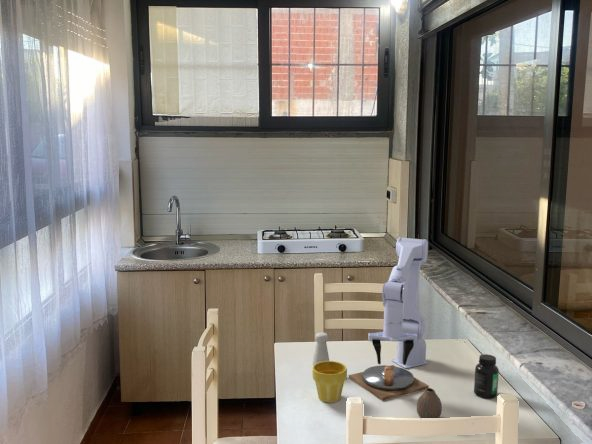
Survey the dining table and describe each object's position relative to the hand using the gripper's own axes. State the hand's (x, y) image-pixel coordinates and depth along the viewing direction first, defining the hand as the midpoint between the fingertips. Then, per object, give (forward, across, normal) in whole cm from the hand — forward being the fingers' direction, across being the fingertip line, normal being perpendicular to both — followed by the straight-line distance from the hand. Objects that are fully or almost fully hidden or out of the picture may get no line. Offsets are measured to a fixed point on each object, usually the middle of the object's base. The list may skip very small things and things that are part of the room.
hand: (391, 363), depth 183 cm
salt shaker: (+10, -21, +15) cm, 28 cm away
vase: (+10, +8, -16) cm, 21 cm away
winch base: (+9, 0, +6) cm, 11 cm away
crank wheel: (+8, 0, +6) cm, 10 cm away
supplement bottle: (+10, +29, 0) cm, 31 cm away
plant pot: (+10, -19, -5) cm, 22 cm away
